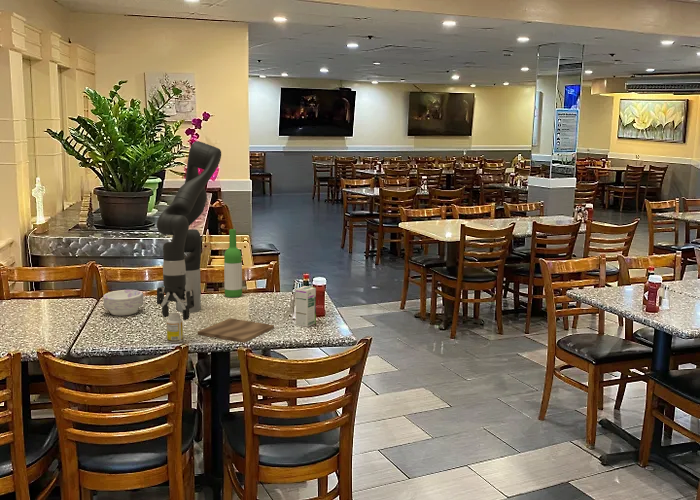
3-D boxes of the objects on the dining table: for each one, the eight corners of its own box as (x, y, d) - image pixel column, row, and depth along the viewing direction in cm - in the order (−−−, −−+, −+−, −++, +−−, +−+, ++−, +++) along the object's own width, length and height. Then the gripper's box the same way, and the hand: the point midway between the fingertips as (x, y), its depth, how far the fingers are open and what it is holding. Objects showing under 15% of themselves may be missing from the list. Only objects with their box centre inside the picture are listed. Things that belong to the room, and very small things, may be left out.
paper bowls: (95, 315, 267) (94, 295, 266) (121, 306, 281) (121, 287, 280) (126, 319, 262) (125, 299, 260) (151, 310, 276) (151, 291, 274)
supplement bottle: (177, 338, 240) (176, 311, 238) (186, 341, 237) (185, 314, 235) (164, 341, 236) (163, 314, 234) (173, 344, 233) (172, 317, 231)
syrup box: (307, 327, 256) (307, 290, 253) (294, 325, 259) (295, 288, 256) (316, 324, 261) (316, 287, 258) (303, 321, 264) (303, 285, 261)
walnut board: (197, 334, 244) (197, 331, 244) (229, 321, 262) (229, 318, 262) (244, 342, 236) (244, 339, 236) (274, 328, 254) (274, 325, 254)
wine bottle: (222, 297, 299) (221, 230, 294) (228, 293, 307) (227, 227, 301) (239, 298, 298) (238, 231, 293) (244, 294, 305) (244, 228, 300)
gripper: (150, 272, 232) (152, 318, 234) (184, 276, 226) (185, 323, 228) (165, 268, 238) (166, 313, 241) (198, 272, 233) (199, 318, 235)
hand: (175, 318), depth 235 cm, fingers open, 8 cm apart
